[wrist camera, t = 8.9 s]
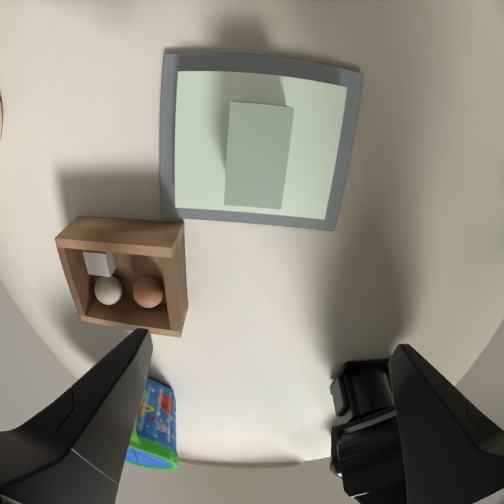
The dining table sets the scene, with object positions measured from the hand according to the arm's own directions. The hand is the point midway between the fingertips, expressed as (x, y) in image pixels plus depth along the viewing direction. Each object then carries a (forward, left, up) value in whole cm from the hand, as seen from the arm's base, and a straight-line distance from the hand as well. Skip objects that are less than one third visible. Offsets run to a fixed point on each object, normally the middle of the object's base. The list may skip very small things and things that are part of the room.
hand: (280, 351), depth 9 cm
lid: (+1, -5, -11) cm, 12 cm away
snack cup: (+12, +25, -12) cm, 31 cm away
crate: (+10, +5, -12) cm, 16 cm away
